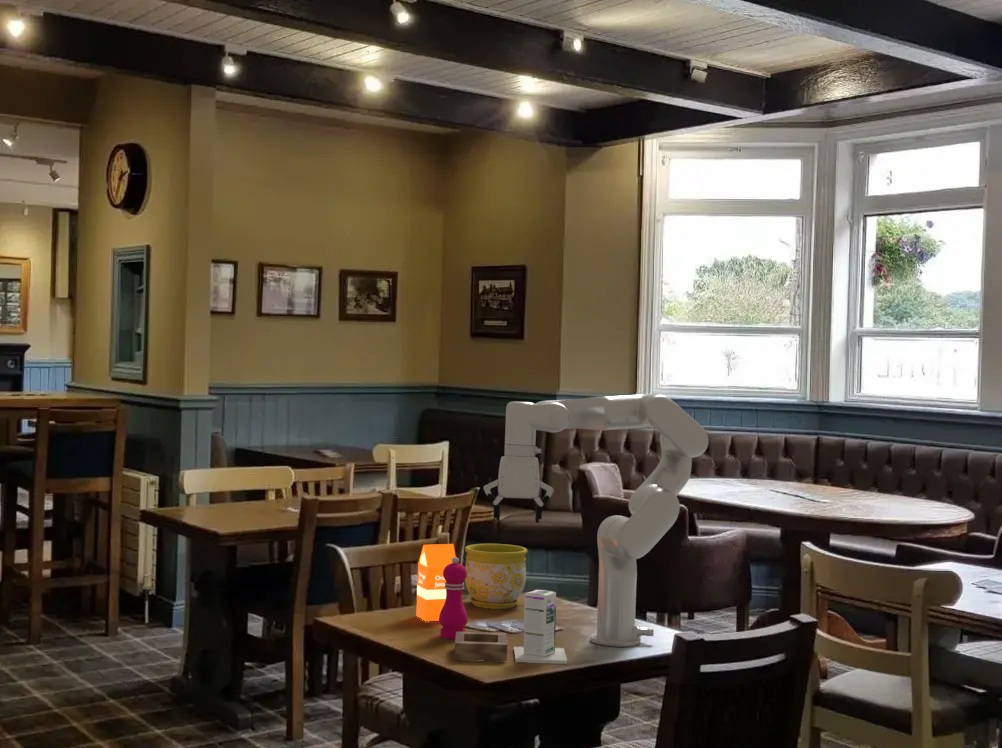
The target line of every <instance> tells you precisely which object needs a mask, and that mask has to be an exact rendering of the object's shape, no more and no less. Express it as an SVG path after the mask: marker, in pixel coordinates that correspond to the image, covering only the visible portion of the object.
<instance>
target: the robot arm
mask: <svg viewBox="0 0 1002 748" xmlns="http://www.w3.org/2000/svg"><path fill="white" fill-rule="evenodd" d="M504 428H505V432H504V433H505V434H504V456H501V457H500V462H499V468H498V477H497V478H498V479H496V480H494V481H491V482H489V483H488V484H485V485H484V486H483V491H484V493H485V494H486V497H487V499H488V500H489V501H490V502H491V503H492V504H493V518H495V519H496V522H500V518H501V517H500V515H501V504H500V502H501V501H502V500H503V499H504V498H505V499H533V500H534V501H535V503H536V505H535V516H534V518H535V520H534V521H535V523H538V524H539V522H540V520H542V519H543V517H542V516H543V515H542V513H543V506H544V505H545V504H546V503H548V502H549V500H550V499H551V497H552V496H553V493H554V491H555V489H554V488H553V487H552V486H550V485H548V484H546V483H544V482H543V481H541V480H540V464H539V463H540V462H539V459H538V457H536V455H538V454H542V447H538V446H536V437H537V431H541V432H547V433H559V432H562V431H564V430H565V429H568V430H569V429H571V430H572V429H580V430H581V429H582V430H585V429H586V430H592V431H612V430H627V429H629V430H630V429H641V428H642V429H643V428H652V429H655V430H656V431H657V432H658V433H660V435H659V443H660V451H661V456H660V461H659V463H658V465H656V467H655V468H654V469H653V471H652V472H651V473H650V474H649V476H648V477H646V479H645V480H644V481H643V482H642V483H641V484H640V485H639V487H638V488H637V489H635V491H634V492H633V493H632V494H631V496H630V497H629V501H628V510H629V513H630V514H631V516H630V517H627V516H623V515H619V514H618V515H617V514H615V515H611V516H608V517H606V518H605V519H604V520H603V521H602V522H601V523H600V525H599V527H598V529H597V535H596V536H597V537H596V539H597V550H598V551H597V552H598V584H597V585H598V589H597V592H598V594H597V613H596V614H597V615H596V616H597V617H596V618H597V619H596V620H597V621H596V632H594V633H591V635H590V638H589V639H590V641H591V642H592V643H594V644H597V645H600V646H607V647H614V648H615V647H619V648H620V647H621V648H623V647H625V648H626V647H634V646H638V645H640V644H641V637H642V636H646V637H654V636H655V635H654V634H655V633H654V631H655V630H654V628H650V627H645V626H643V627H641V626H638V625H637V623H636V606H637V605H636V604H637V603H636V602H637V600H636V599H637V579H638V577H637V576H638V570H637V568H638V566H637V560H638V559H641V558H642V557H645V555H647V554H648V553H650V551H651V550H652V549H653V548H654V547H655V545H656V544H658V543H659V541H660V540H661V539H662V538H663V536H665V534H666V533H667V532H668V531H669V530H670V529H671V528H672V527H673V525H674V524H675V522H676V521H677V519H678V517H679V514H680V510H681V509H680V505H681V504H680V501H679V498H678V497H677V496H678V495H679V494H680V492H681V491H682V490H683V489H684V487H685V486H686V485H687V483H688V481H689V480H690V476H691V472H692V464H693V462H692V459H693V458H699V457H700V456H701V455H703V454H704V453H705V452H706V450H707V449H708V446H709V436H708V433H707V431H706V430H705V428H704V427H703V426H702V425H701V424H700V423H699V422H698V421H696V420H695V419H694V418H693V417H692V416H691V415H690V414H689V413H688V412H686V411H685V410H684V409H683V408H682V407H681V406H680V405H678V404H677V403H676V402H675V401H674V400H672V399H671V398H669V397H668V396H666V395H664V394H657V393H655V394H653V393H644V394H643V393H641V394H639V393H638V394H624V395H607V396H606V395H604V396H593V397H585V398H575V399H574V398H573V399H572V398H571V399H556V400H554V399H553V400H542V401H537V402H536V403H534V402H531V401H517V400H516V401H510V402H508V403H507V404H506V408H505V427H504ZM495 487H497V493H498V494H497V496H496V497H495V495H493V494H492V492H491V489H492V488H495ZM540 488H541V489H543V490H545V492H546V493H545V495H544V496H543V497H542V498H540V497H539V494H540Z"/></svg>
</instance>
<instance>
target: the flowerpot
mask: <svg viewBox="0 0 1002 748" xmlns="http://www.w3.org/2000/svg"><path fill="white" fill-rule="evenodd" d="M464 551H465V552H466V556H465V558H466V560H465V566H464V567H465V568H466V571H467V576H466V579H465V580H464V585H465V587H466V590H467V592H468V593H469V595H470V596H471V597H470V598H469V601H470V602H471V603H472V605H473V606H474V607H477V606H478V608H481V607H483V609H488V608H489V609H491V610H505V609H513V608H515V607H516V606H517V604H518V603H519V602H520V600H519V597H520V596H521V594H522V593H523V591H524V589H525V587H526V586H525V585H526V581H527V566H526V560H527V558H526V555H527V554H528V548H526V547H523V546H521V545H514V544H507V543H506V544H503V543H476V544H474V543H473V544H469V545H467V546H465V548H464ZM489 609H488V610H489Z"/></svg>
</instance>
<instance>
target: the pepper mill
mask: <svg viewBox="0 0 1002 748" xmlns="http://www.w3.org/2000/svg"><path fill="white" fill-rule="evenodd" d="M459 561H460V559H459V557H457V556H456V557H454V558H453V559H452V563H451V564H448V565H447V566H446V567H445V568H444V571H443V577H444V579H445V580H446V582H445V587H444V588H445V589H446V600H445V603H444V606H443V608H442V610H441V612H440V615H439V622H438V623H439V624H440V626H441V627H442V628H440V629H439V630H440V638H442V637H443V638H442V639H445V638H447V639H446V640H455V639H456V631H457V632H466V629H465V628H464V627H465V626H466V625H467V623H468V618H469V617H468V613H467V610H466V607H465V605H464V602H463V590H464V589H465V579H466V576H467V571H466V568H465V566H464V565H463V564H461V563H459Z"/></svg>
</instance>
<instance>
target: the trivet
mask: <svg viewBox="0 0 1002 748" xmlns="http://www.w3.org/2000/svg"><path fill="white" fill-rule="evenodd" d="M513 654H514V655H515V656H514V661H515V663H518V662H528V663H527V664H552V665H553V664H554V665H555V664H556V665H557V664H559V665H567V664H568V658H567V655H566V652H565V648H564V647H555V652H554V653H552V654H549V655H547V656H546V657H539V656H533V655H528V654H524V646H513Z"/></svg>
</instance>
